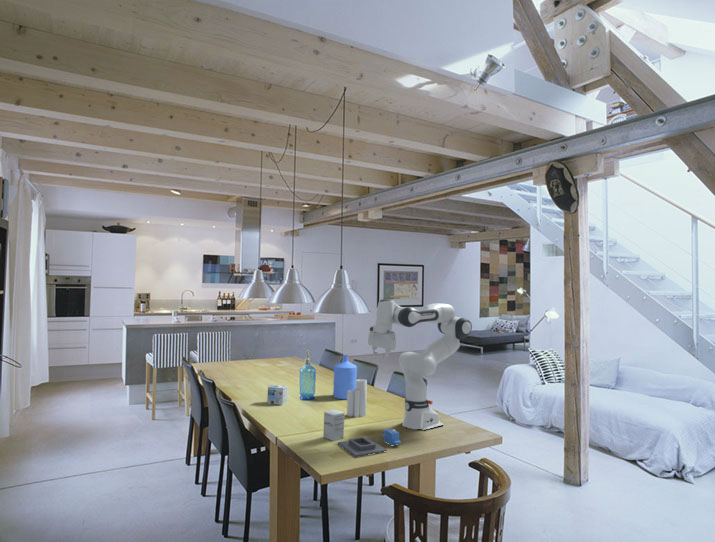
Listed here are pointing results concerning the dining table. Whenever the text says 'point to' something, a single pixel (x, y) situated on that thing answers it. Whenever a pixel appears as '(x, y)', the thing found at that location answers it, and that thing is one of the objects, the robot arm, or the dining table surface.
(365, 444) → the plate
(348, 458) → the dining table surface
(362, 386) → the white cylinder cluster
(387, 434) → the servo block
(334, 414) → the supplement box
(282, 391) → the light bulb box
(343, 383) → the water jug
